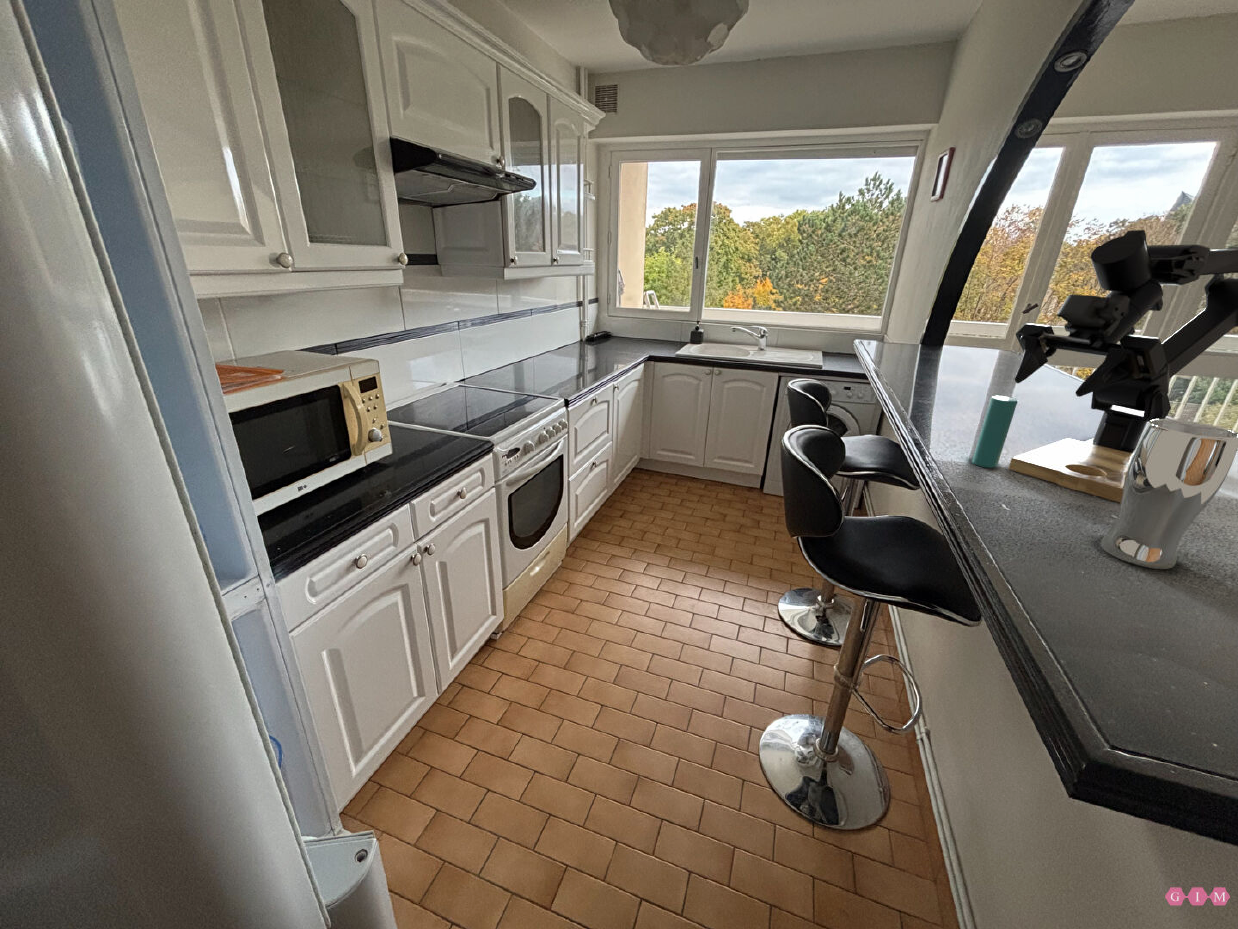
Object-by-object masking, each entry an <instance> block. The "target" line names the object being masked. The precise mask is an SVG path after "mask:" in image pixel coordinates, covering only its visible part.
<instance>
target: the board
mask: <svg viewBox="0 0 1238 929" xmlns="http://www.w3.org/2000/svg"><path fill="white" fill-rule="evenodd" d="M1132 455H1133V454H1131V453H1127V452H1123V451H1119V450H1114V449H1110V448H1106V447H1102V446H1098V445H1093V444H1089V443H1085V441H1080V440H1076V439H1072V438H1065V439H1062V440H1059V441H1056V442H1053V443H1050V444H1047V445H1045V446H1042V447H1039V448H1036V449H1033V450H1029V451H1028V452H1024V453H1021V454H1019V455H1016V456H1013V457H1011V460H1010V463H1009V465H1008V470H1010V471H1013V472H1017V473H1020V474H1023V475H1027V476H1029V477H1033V478H1036V479H1040V480H1043V481H1047V482H1050V483H1053V484H1056V485H1058V486H1060V487H1063V488H1066V489H1070V490H1073V491H1077V492H1082V493H1086V494H1089V495H1093V496H1096V497H1099V498H1103V499H1107V500H1110V501H1112V502H1116V503H1120V504H1121V498H1122V492H1123V486H1124V480H1125V476H1126V472H1127V468H1128V465H1129V462H1130V460H1131V457H1132Z"/></svg>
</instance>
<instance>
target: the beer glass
mask: <svg viewBox="0 0 1238 929" xmlns="http://www.w3.org/2000/svg"><path fill="white" fill-rule="evenodd" d="M1237 452H1238V432H1237V431H1235V430H1233V429H1229V428H1225V427H1223V426H1218V425H1213V424H1209V423H1203V422H1197V421H1192V420H1183V419H1176V418H1175V419H1173V418H1165V419H1153V420H1150V421H1149V422H1148V425H1147V426H1146V428H1145V429H1144V431H1143V432H1142V435H1141V437H1140V439H1139V442H1138V444H1137V446H1136V448H1135V450H1134V452H1133V455H1132V457H1131V460H1130V462H1129V465H1128V468H1127V472H1126V476H1125V480H1124V486H1123V492H1122V498H1121V503H1120V505H1119V510H1118V513H1117V516H1116V518H1115V521H1114V523H1113V524H1112V525H1111V527H1110V529H1109V530H1108V531H1107V532H1106V534H1105V536H1104V537H1103V538H1102V540H1101V541H1100V547H1101V548H1102V550H1103V551H1105V552H1106V553H1107V554H1109V555H1110V556H1112V557H1114V558H1117V559H1118V560H1121V561H1124V562H1126V563H1129V564H1132V565H1134V566H1138V567H1144V568H1148V569H1155V570H1170V569H1172V568H1174V567H1176V563H1177V559H1178V554H1179V548H1180V545H1181V541H1182V540H1183V538H1184V535H1185V534H1186V532H1187V530H1188V529H1189V527H1190V526H1191V525H1192V524H1193V523H1194V521H1195V520H1196V519H1197V518H1198V517H1199V515H1200V514H1201V513H1202V512H1203V511H1204V509H1205V508H1206V507H1207V506H1208V505H1209V504H1210V502H1211V501H1212V500H1213V498H1214V497H1215V495H1216V494H1217V493H1218V491H1219V490H1220V489H1221V487H1222V485H1223V484H1224V481H1225V480H1226V478H1227V476H1228V474H1229V472H1230V470H1231V467H1232V465H1233V463H1234V460H1235V458H1236V457H1235V456H1236V455H1237Z"/></svg>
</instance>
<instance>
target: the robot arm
mask: <svg viewBox="0 0 1238 929" xmlns="http://www.w3.org/2000/svg"><path fill="white" fill-rule="evenodd" d="M1090 260H1091V265H1092V267H1093V270H1094V272H1095V275H1096V279H1097V282H1098V284H1099V288H1101V289H1102V290H1105V291H1108V293H1107V294H1106V295H1105V296H1104V297H1103V296H1098V295H1089V294H1088V295H1086V294H1068V295H1067V297H1066V298H1065V300H1064V302H1063V304H1062V305H1061V307H1060V308H1059V310H1058V312H1057V313H1056V316H1057V317H1058V318H1061V319H1063V320H1064V321H1066V324H1064V325H1063V328H1064V330H1065V332H1068V333H1069V334H1068V335H1062V334H1055V332H1054V329H1053V327H1052V325H1047V324H1038V323H1024V324H1023V325H1022V326H1021V327H1020V328H1019V329H1018V330H1017V331H1016V332H1015V337H1016V340H1017V341H1018V343H1019V345H1020V347H1021V350H1022V352H1023V356H1022V359H1021V362H1020V365H1019V367H1018V369H1017V372H1016V374H1015V377H1014V382H1015V383H1016V384H1021V383H1022V382H1024V381H1025V380H1026V379H1028V378H1029V377H1031V376H1032V375H1033V374H1034V373H1035V372H1037V371H1038V370H1039V369H1041V368H1042V367H1043V366H1044V365H1046V364H1047V363H1049V360H1048V358H1050V357H1053V356H1054V354H1056V352H1057V351H1058V350H1063V351H1068V352H1069V351H1070V352H1076V353H1080V355H1081V354H1082V355H1088V356H1095V357H1101V358H1104V360H1103V362H1102V363H1101V364H1099V366H1098V367H1097V368H1096V369H1095V370H1094V371H1093V372H1092V373H1091V374H1090V375H1089V376H1088V377H1087V378H1086V379H1085V380H1084V381H1083V382H1082V383H1081V384H1080V385H1079V387H1078V388H1077V389H1076V391H1075V396H1076V397H1079V398H1081V397H1083V396H1086V395H1088V394H1091V393H1092V394H1091V404H1090V409H1091V410H1097V411H1100V412H1101V411H1102V412H1103V414H1102V417H1101V419H1100V421H1099V424H1098V425H1097V426H1098V427H1097V429H1096V431H1095V434H1094V436H1093V438H1091V439H1087V440H1085V441H1084V442H1085V443H1089V444H1093V445H1098V446H1102V447H1106V448H1110V449H1114V450H1119V451H1123V452H1127V453H1131V454H1133V452H1134V450H1135V448H1136V446H1137V444H1138V442H1139V441H1140V439H1141V437H1142V435H1143V433H1144V431H1145V427H1146V425H1147V423H1149V421H1150V420H1153V419H1167V418H1166V417H1167V416H1168V415H1169V413H1170V412H1171V410H1172V405H1171V402H1170V398H1169V395H1168V394H1169V393H1170V379H1171V378H1173V377H1174V376H1175V375H1177V373H1179V372H1180V371H1181V370H1182V369H1184V368H1185V367H1186V366H1188V365H1189V364H1190V363H1191V362H1193V361H1194V360H1195V359H1196V358H1198V357H1199V356H1200V355H1201V354H1203V353H1204V352H1205V351H1206V350H1208V349H1210V347H1212V346H1213V345H1214V344H1215V343H1217V342H1218V341H1219V340H1221V338H1224V336H1225V335H1227V334H1229V332H1231V331H1232V329H1234V328H1237V327H1238V277H1227V278H1226V277H1225V275H1224V274H1238V246H1230V247H1227V248H1216V249H1215V248H1214V249H1211V248H1210V247H1208V246H1204V245H1201V244H1197V243H1196V244H1155V245H1154V244H1149V245H1148V241H1147V233H1146V230H1145V229H1137V230H1135V229H1133V230H1132V229H1131V230H1127V231H1126V232H1125V233H1124V234H1123V235H1122V236H1117V237H1115V238H1112V239H1110V240H1107V241H1105V242H1104V243H1102V244H1100V245H1097V246H1095V248H1094V249H1093V250H1092V252H1091V253H1090ZM1210 275H1213V276H1212V278H1211V279H1209V281H1208V282H1207V283H1206V284H1205V285H1204V291H1205V308H1204V309H1203V310H1202V311H1201V312H1200V313H1198V314H1197V315H1196V316H1195V317H1193V318H1192V319H1191V320H1190V321H1188V322H1186V324H1184V325H1183V326H1182V327H1181V328H1179V329H1178V330H1177V331H1175V333H1173V334H1171V336H1169V337H1168V338H1167V339H1165V340H1164V341H1163V342H1162V341H1161V338H1160V337H1155V336H1146V335H1138V334H1135V333H1136V330H1135V326H1136V324H1137V323H1139V321H1140V320H1141V319H1142V318H1143V317H1145V316H1146V314H1147V313H1148V312H1149V311H1151V312H1152V311H1153V312H1160V311H1161V310H1162V309H1163V306H1164V301H1163V297H1164V291H1163V287H1162V285H1163V286H1184V285H1188V284H1190V283H1193V282H1196V281H1198V280H1199V279H1200V277H1202V276H1210Z"/></svg>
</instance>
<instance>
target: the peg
mask: <svg viewBox="0 0 1238 929" xmlns="http://www.w3.org/2000/svg"><path fill="white" fill-rule="evenodd" d="M1018 402H1019V400H1018V399H1017V398H1014V397H1010V396H1004V395H992V396H990V400H989V403H988V405H987V409H986V412H985V416H984V420H983V423H982V426H981V429H980V434H979V436H978V440H977V443H976V446H975V450H974V454H973V457H972V460H971V463H972V464H974V465H976V466H978V467H982V468H987V469H994V468H997V467H998V465H999V461H1000V458H1001V455H1002V452H1003V448H1004V446H1005V442H1006V440H1007V436H1008V434H1009V431H1010V427H1011V424H1012V422H1013V421H1012V420H1013V418H1014V414H1015V411H1016V408H1017V405H1018Z"/></svg>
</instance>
